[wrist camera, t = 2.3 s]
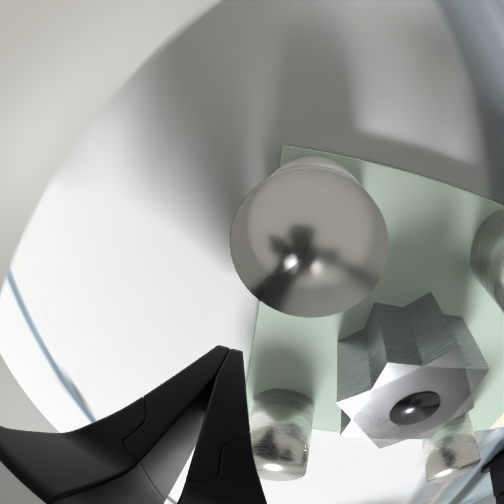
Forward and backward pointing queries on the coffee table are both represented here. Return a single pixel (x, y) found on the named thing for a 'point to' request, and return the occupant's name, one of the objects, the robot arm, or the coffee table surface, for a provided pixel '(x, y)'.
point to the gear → (406, 372)
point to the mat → (390, 292)
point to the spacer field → (332, 293)
